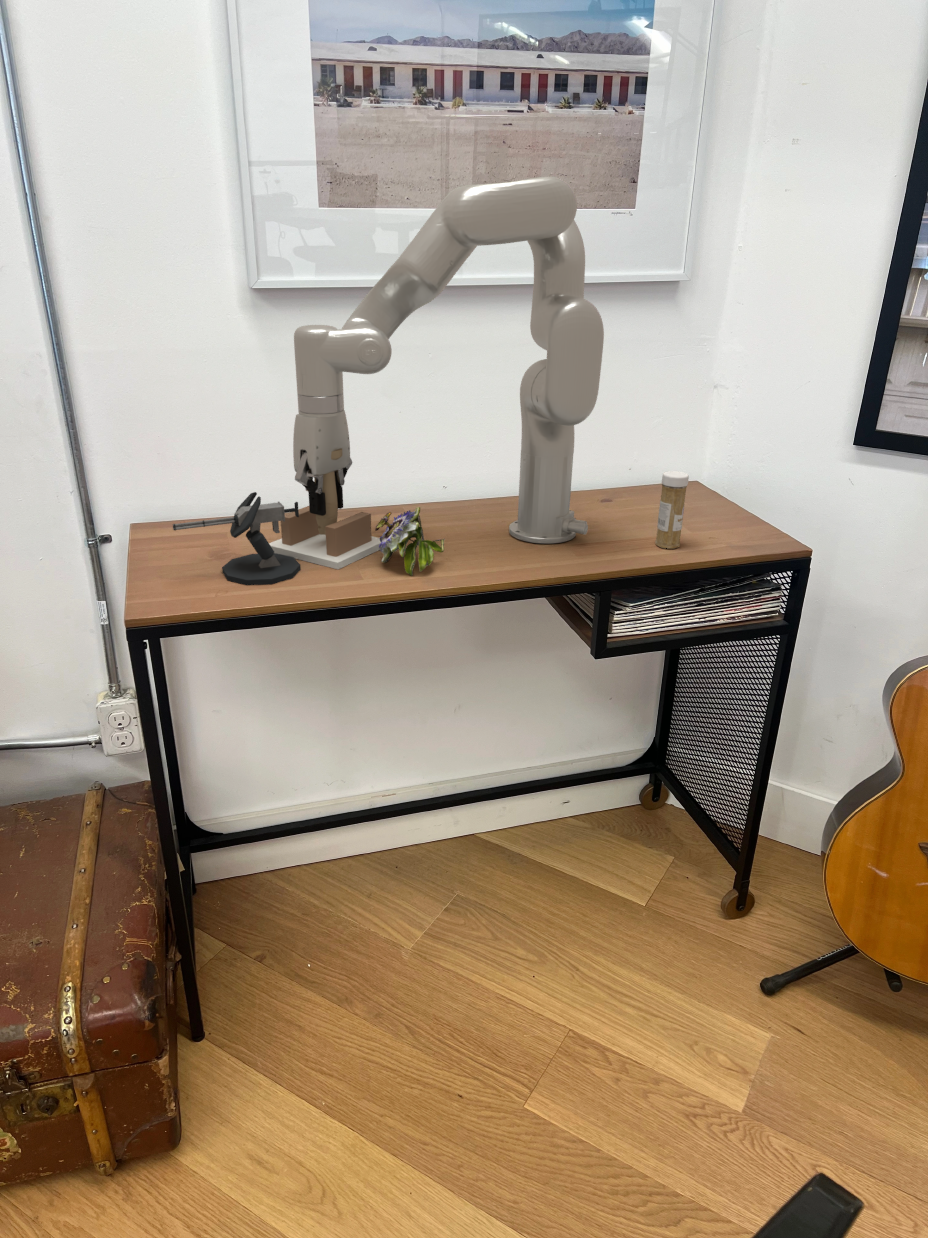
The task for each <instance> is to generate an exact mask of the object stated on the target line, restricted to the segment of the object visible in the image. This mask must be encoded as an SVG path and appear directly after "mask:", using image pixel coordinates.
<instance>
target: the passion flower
mask: <svg viewBox="0 0 928 1238" xmlns="http://www.w3.org/2000/svg"><path fill="white" fill-rule="evenodd" d="M420 513H421V506H417V507H415V509H414V510H413V511H411V509H410V510H407V511H406V512H405V511H404V512H403V513H400V515H399V514H398V515H397V516H396V517H395V516H394V517H393V521H392V522H391V523H389V522H388V521H389V519H390V516H391V515H392V511H389V512H387V513H386V514H384V516H383V517H381V518H380V521H379V522H378V523H377V524H376V526H375V528H374V531H379V530H380V528H383V527H384V526H386V528H385V531H384V532H383V533H382V536H380V537H379V538H380V541H381V544H380V545H379V548H380V550H379V551H380V553H382V554H383V557H382V559H381V560H380V562H381V563H382V564H386V563H388V562H389V561H390V559H391V558H392V557H393V554H394V553H395V552H397V551H398V550H399V555H400V557H402V558H403V562H404V563H403V564H404V572H405V573H406V574H407V575H410V577H412V576H413V571H414V568H415V564H416V558H418V559H417V562H418V569H419V572H420V573H421V572H422V571H423V570H425V569H426V567H429V566H431V564H432V563H433V561H434V557H435V556H434V555H435V554H434V551H435V552H438V553H440V554H441V553H444V551H445V540H446V538H445V537H444V538H439V539H434V540H432V539H431V540H430V539H425V535H424V530H423V527H422V526H423V525H422V520H421V515H420ZM414 538H415V539H414ZM413 539H414V540H413ZM409 541H411V542H410V543H408V542H409ZM439 541H440V545H439V544H438V543H437V542H439ZM407 544H408V545H407ZM417 548H418V557H416V556H417V555H416V553H417V551H416V550H417ZM433 550H434V551H433Z"/></svg>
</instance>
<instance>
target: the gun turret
mask: <svg viewBox="0 0 928 1238" xmlns="http://www.w3.org/2000/svg"><path fill="white" fill-rule="evenodd" d="M257 495H258V493H257V492H256V491H254V492H251V493H250V494H248V496H247V497H245V499H243V501H242V502H241V503H240V504H239V506H238V507H237V508H236V510H235V512H234V513H233V514H234V515H233V516H231V517H230V516H229V517H222V518H213V519H206V520H205V519H203V520H197V521H190V522H189V521H188V522H183V523H182V522H180V523H173V524H172V530H173V531H178V530H179V531H180V530H186V529H196V528H202V527H203V528H205V527H210V526H211V527H213V526H221V525H227V524H229V525H230V524H231V525H230V530H229V533H230V535H231V537H233V539H235V538H236V539H237V538H238V537H239V536H241V535H243V533H245V532H246V533H245V537H246V538H247V540H248V541H249V543H250V544H251V546H252V547H253V548H254V549H253V550H254V551H255V552H256V553H250V554H246V555H242V556H239V557H235V558H231V559H230V560H229V561H228V562H227V563H226V564H224V565H223V566H222V568H221V571H222V574H223V576H224V577H225V579H226V581H228V582H232V583H235V584H241V585H244V586H267V585H268V586H269V585H271V586H272V585H275V584H278V583H281V582H285V581H288V580H291V579H294V578H295V576H296V575H298V573H300V571H301V570H302V569H301V564H300V562H299V561H297V560H298V559H295V558H294V557H291V556H286V555H282V554H277V553H274V550H273V549H272V547H271V546H270V544H269V543H270V542H269V541H268V540H267V538H266V536H265V535H264V534H263V533H262V532H261V524H264V523H272V532H274V533H275V534H280V533H281V532H280V531H281V530H280V526H279V525H280V524H279V523H280V522H281V521H282V520H283V521H284V522H285V514H288V513H291V512H295V516H297V517H299V511H298V510H299V502H298V501H295V502H294V507H293V508H285V506H284V505H283V504H282V503H281V502H280V501H277V502H270V503H263V504H261V502H262V497H261V496H257ZM256 496H257V497H256ZM255 498H256V499H255ZM253 501H254V502H253ZM279 521H280V522H279Z"/></svg>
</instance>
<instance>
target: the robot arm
mask: <svg viewBox="0 0 928 1238" xmlns="http://www.w3.org/2000/svg"><path fill="white" fill-rule="evenodd" d="M577 208H578V201H577V197H576V193H575V191H574V189H573V188H572V187H571V185H570V184H569V183H568V182H566V181H565V180H564V179H562V178H560V177H558V176H557V177H556V176H553V175H552V176H550V175H549V176H541V177H530V178H525V179H522V180H514V181H506V182H505V181H504V182H497V183H496V182H495V183H493V182H492V183H479V184H478V183H477V184H469V185H462V186H458V187H456V188H454V189H452V190H450V191H449V192H448V193H447V194H446V196H445V197H444V198H443V199H442V200H441V201H440V203H438V205H437V207H436V208H435V209H434V211H433V212H432V213H431V214H430V216H429V217H428V219H427V220H426V221H425V222H424V224H423V226H422V227H421V228H419V229H420V230H419V231H418V232H417V233H416V235H415V236H414V237H413V238H412V240H411V241H410V242H409V244H408V245H407V246H406V248H405V249H404V251H402V253H401V254H400V255H399V257H398V258H397V259H396V261H394V262H393V263H392V265H390V267H389V268H388V270H387V271H386V272H385V273H384V274H383V276H382V277H381V278H380V279H379V280H378V281H377V282H376V284H374V286H373V287H372V288H371V289H370V290H369V291H368V293H366V295H365V296H364V297H363V299H362V300H361V301H360V303H358V305H357V306H356V308H355V310H353V312H352V313H351V314H350V316H349V317H348V319H347V320H346V322H345V323H344V324H343V326H342V328H341V329H340V328H339V329H338V328H337V327H335V326H333V325H327V324H310V325H309V324H307V325H301V326H299V327H297V328H296V329H295V331H294V334H293V344H294V345H293V346H294V347H293V348H294V362H295V377H296V378H295V379H296V393H297V395H296V396H297V409H298V413H297V414H295V417H294V425H293V426H294V427H293V444H292V445H293V446H292V447H293V450H292V452H293V469H294V471H295V475H294V480H295V482H298V483H299V484H301V485H302V486H303V487H304V489H305V491H306V492H308V506H309V510H310V513H312V514H317V515H321V516H324V515H326V501H325V493H324V492H322V488H323V475H324V474H327V473H330V472H333V471H334V473H335V484H336V492H337V502H338V504H337V505H338V510H341V509H343V508H344V494H343V491H344V490H343V486H344V485H345V482H346V481H345V477H346V476H347V474H348V471H349V469H350V468H351V467H352V465H353V460H352V457H351V445H350V442H351V441H350V434H349V432H350V431H349V427H348V425H349V424H348V420H347V415H346V410H345V400H344V398H345V397H344V377H343V376H344V374H343V373H351V374H359V375H373V374H377V373H379V372H381V371H383V370H384V369H385V368H386V367H387V366H388V365H389V363H390V360H391V358H392V344H391V342H390V340H389V339H390V338H391V337H392V335H394V334H395V331H397V329H398V328H399V327H400V326H401V325H402V324H403V322H404V321H406V319H407V318H408V317H409V316H410V315H412V314H413V313H414V312H415V311H416V310H418V309H421V308H422V307H424V306H426V305H427V304H430V303H431V302H432V301H434V300H435V299H436V298H437V297H438V296H440V294H442V292H443V291H444V289H445V288H446V287H447V285H448V284H449V283H450V282H451V280H452V279H453V278H454V276H456V274H457V272H458V271H459V270H460V269H461V268H462V266H463V265H464V264H465V262H466V261H467V260H468V258H469V257H470V256H471V255H472V254H473V252H474V251H475V249H476V248H477V247H479V246H495V245H506V244H512V243H519V242H520V243H522V242H525V241H527V243H528V245H529V247H530V250H531V253H532V259H533V285H532V286H533V288H532V298H531V299H532V300H531V312H530V323H529V324H530V325H529V327H530V336H531V338H532V339H533V342H535V344H536V345H537V346H538V347H539V348H540V349H542V350H545V351H546V358H545V359H540V360H537V361H536V362H534V363H533V364H531V365H530V366H529V367H528V368H527V370H525V372H524V374H523V376H522V378H521V382H520V387H519V403H520V404H519V405H520V413H521V414H520V415H521V441H520V442H521V443H520V444H521V445H520V447H521V448H520V457H519V458H520V462H519V485H518V504H517V506H518V507H517V508H518V509H517V519H516V520H515V521H513V522H511V523H510V524H509V525H508V526H509V527H508V533H509V534H510V536H512V537H514V538H516V539H517V540H520V541H524V542H527V543H533V544H549V545H550V544H560V543H566V542H568V541H571V540H572V539H574V538H576V536H577V534H580V535H585V536H586V535H587V533H588V531H589V525H588V522H587V520H582V519H576V517H575V511H574V510H571V508H570V505H571V494H572V490H571V489H572V479H573V463H574V452H575V426H576V425H579V424H581V423H582V422H584V421H585V420H587V418H589V416H590V415H591V413H592V412H593V411H594V408H595V406H596V404H597V399H598V395H599V388H600V380H601V372H602V371H601V370H602V362H603V352H604V350H603V349H604V342H605V341H604V337H605V331H604V323H603V318H602V315H601V314H600V312H599V310H598V309H597V307H596V306H595V305H594V304H593V303H592V302H590V301H589V300H588V299H585V297H584V296H585V295H584V294H585V293H584V292H585V279H586V278H585V277H586V276H585V274H586V252H585V251H586V250H585V244H584V239H583V237H582V233H581V231H580V228H579V227H578V226H579V225H577V222H576V221H575V218H576V215H577V211H578V210H577ZM341 448H342V457H340V458H339V459H337V460H331V452H332V451H335V450H338V449H341ZM314 478H316V483H315V482H314Z"/></svg>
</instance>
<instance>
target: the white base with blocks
mask: <svg viewBox="0 0 928 1238" xmlns="http://www.w3.org/2000/svg"><path fill="white" fill-rule="evenodd" d="M298 511H299V517H297V516H295V512H288V513H285V522H284V521H283V520H282V521H280V531H281V532H280V533H281V538H280V539H279V538H278V539H276V540H273V541H272V542H268V543H269V544H270V546H271V547H272V549H273V550H274V553H277V554H282V555H286V556H291V557H294V558H295V559H296V560H300V561H304V562H307V563H311V564H316V565H319V566H322V567H326V568H327V567H328V568H330V569H331V568H332V569H334V570H341V569H343V568H344V567H347V566H348V565H351V564H353V563H355V562H357V561H359V560H362V559H363V558H366V557H368V556H369V555H372V554H374V553H377V552H379V551H380V548H379V545H380V544H381V541H380V537H377V536H372V513H368V512H365V511H360V512H357V513H355V514H353V515H350V516H348V517H345V518H343V519H341V520H337V522H336V523H333V524H331V525H328V526H326V527H325V529H326V535H321V534H319V531H318V524H317V521H316V515H315V514H312V513H310V510H309V505H307V506H305V507H301V508H298Z"/></svg>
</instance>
